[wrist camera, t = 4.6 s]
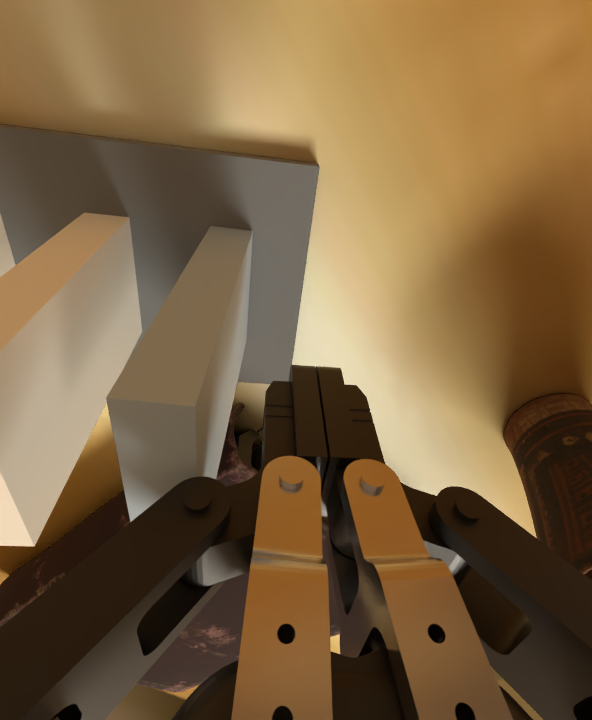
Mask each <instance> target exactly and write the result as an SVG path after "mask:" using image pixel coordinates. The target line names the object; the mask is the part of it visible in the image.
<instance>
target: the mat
mask: <svg viewBox="0 0 592 720" xmlns="http://www.w3.org/2000/svg"><path fill="white" fill-rule="evenodd" d="M318 173H319V165H318V163H310V162H302V161H294V160H286V159H278V158H269V157H261V156H253V155H245V154H237V153H229V152H221V151H213V150H205V149H197V148H188V147H180V146H172V145H164V144H156V143H148V142H140V141H132V140H124V139H116V138H107V137H99V136H91V135H83V134H75V133H67V132H59V131H51V130H43V129H35V128H27V127H18V126H10V125H2V124H0V214H1V217H2V221H3V224H4V228H5V231H6V234H7V238H8V241H9V245H10V248H11V251H12V255H13V258H14V262H15V265H17V264H18V263H19V262H21V261H22V260H23V259H24V258H26V257H27V256H28V255H30V254H31V253H32V252H34V251H35V250H36V249H37V248H39V247H40V246H41V245H43V244H44V243H45V242H47V241H48V240H49V239H50V238H52V237H53V236H54V235H56V234H57V233H58V232H60V231H61V230H62V229H64V228H65V227H66V226H67V225H69V224H70V223H71V222H73V221H74V220H75V219H77V218H78V217H79V216H80V215H82V214H83V213H94V214H103V215H113V216H122V217H129V220H130V229H131V237H132V246H133V255H134V264H135V272H136V281H137V290H138V298H139V307H140V316H141V324H142V333H141V335H140V337H139V339H138V341H137V343H136V345H135V347H134V349H133V351H132V353H131V355H130V357H129V359H130V358H131V356H132V354H133V353H134V351H135V349H136V348H137V346H138V344H139V343H140V341H141V339H142V338H143V336H144V335H145V333H146V331H147V330H148V328H149V326H150V325H151V323H152V321H153V320H154V318H155V317H156V315H157V313H158V312H159V310H160V308H161V307H162V305H163V303H164V302H165V300H166V298H167V297H168V295H169V294H170V292H171V290H172V289H173V287H174V285H175V284H176V282H177V280H178V279H179V277H180V276H181V274H182V272H183V271H184V269H185V267H186V266H187V264H188V262H189V261H190V259H191V257H192V256H193V254H194V253H195V251H196V249H197V248H198V246H199V244H200V243H201V241H202V239H203V238H204V236H205V235H206V233H207V231H208V230H209V228H210V226H216V227H224V228H233V229H241V230H249V231H253V237H252V254H251V271H250V288H249V305H248V323H247V340H246V345H245V349H244V354H243V359H242V363H241V368H240V372H239V377H238V381H237V382H249V383H264V384H271V383H272V382H273V381H289V373H290V367H291V365H292V359H293V352H294V345H295V337H296V330H297V323H298V316H299V309H300V302H301V295H302V288H303V280H304V273H305V266H306V259H307V252H308V245H309V238H310V230H311V223H312V216H313V209H314V202H315V195H316V188H317V181H318ZM129 359H128V361H129ZM128 361H127V362H128ZM126 364H127V363H126ZM125 366H126V365H125Z"/></svg>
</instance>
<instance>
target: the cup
mask: <svg viewBox="0 0 592 720" xmlns="http://www.w3.org/2000/svg"><path fill="white" fill-rule="evenodd" d="M504 441H505V443H506V445H507V447H508V449H509V451H510V452H511V454H512V456H513V459H514V461H515V463H516V466H517V469H518V472H519V474H520V477H521V480H522V483H523V486H524V490H525V493H526V497H527V500H528V504H529V507H530V511H531V515H532V519H533V524H534V528H535V532H536V536H537V539H538V540H539V541H541V542H542V543H543V544H544V545H546V546H547V547H548V548H550V549H551V550H552V551H554V552H555V553H556V554H558V555H559V556H560V557H562V558H563V559H564V560H565V561H567V562H568V563H569V564H571V565H572V566H573V567H575V568H576V569H577V570H579V571H580V572H581V573H583V574H584V575H585V576H587V577H588V578H589V579H590V580H592V404H591V403H590V402H589V401H587V400H586V399H584V398H583V397H581V396H578V395H573V394H555V395H548V396H544V397H540V398H538V399H535V400H533V401H531V402H529V403H527V404H526V405H524V406H523V407H521V408H520V409H519V410H517V411H516V412H515V413H514V414H513V415H512V416H511V417H510V419H509V421H508V424H507V426H506V428H505V431H504Z"/></svg>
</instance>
